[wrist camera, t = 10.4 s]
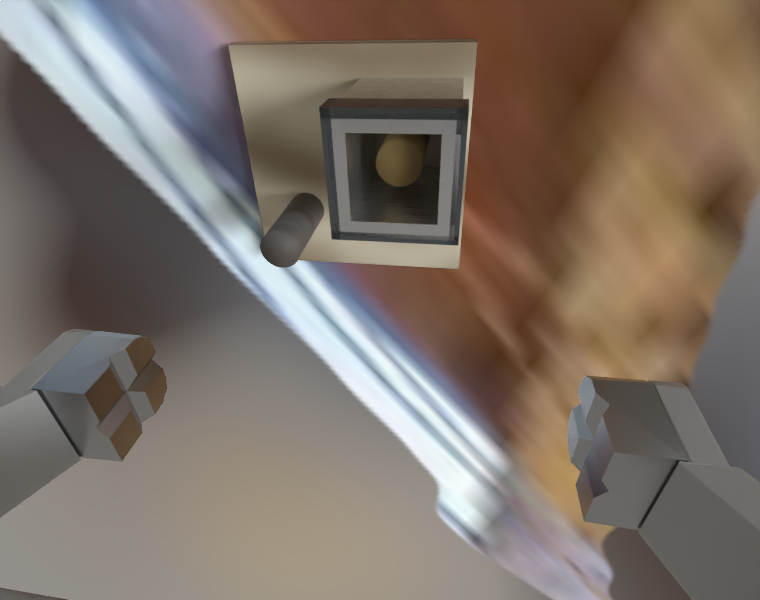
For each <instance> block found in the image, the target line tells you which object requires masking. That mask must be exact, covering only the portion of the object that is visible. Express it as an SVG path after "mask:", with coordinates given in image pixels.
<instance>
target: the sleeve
mask: <svg viewBox="0 0 760 600" xmlns="http://www.w3.org/2000/svg"><path fill="white" fill-rule="evenodd" d="M463 89H464V78H360V79H359V80H358V81H357V82H356V83H355V84H354V85H353V86H352V87H351V88H350V89H349V90H348V91H347V92H346V93H345V94H344V95H343V96H342V97H341V98H329V99H327V100H326V101H325V102H324V103H323V104H322V105H321V106H320V107H319V112H320V122H321V133H322V143H323V154H324V164H325V174H326V185H327V195H328V206H329V216H330V227H331V237H332V239H333V240H354V241H374V242H395V243H416V244H437V245H457V246H458V242H459V230H460V217H461V205H462V192H463V180H464V167H465V155H466V142H467V129H468V117H469V99H463ZM376 133H387V134H442V143H441V163H440V167H430V166H423V167H422V171H421V174H420V175H419V177H418V178H417V179H416V181H414V182H413V183H411V184H410V185H407V186H402V187H398V186H393V185H390V184H388V183H386V182H385V181H384V180H383V179H382V178H381V177H380V175H379V174H378V171H377V168H376V157H377V151H376Z"/></svg>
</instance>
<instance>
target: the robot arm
mask: <svg viewBox="0 0 760 600" xmlns="http://www.w3.org/2000/svg"><path fill="white" fill-rule="evenodd" d="M155 353H156V351H155V349H154V347H153V344H152V342H151V340H150V339H148V338H146V337H143V336H136V335H128V334H119V333H110V332H102V331H88V330H80V329H73V330H70V331H66V332H64V333H63V334H62V335H61V336H59V337H58V338H57V339H56V340H55V341H54V342H53V343H52V344H50V345H49V346H48V347H47V348H46V349H45V350H44V351H43V352H42V353H40V354H39V355H38V356H37V357H36V358H35V359H34V360H33V361H31V362H30V363H29V364H28V365H27V366H26V367H25V368H24V369H22V370H21V371H20V372H19V373H18V374H17V375H16V376H15V377H14V378H12V379H11V380H10V381H9V382H8V383H7V384H6V385H5V386H4V387H1V386H0V517H2V516H3V515H5V514H6V513H7V512H9V511H10V510H11V509H13V508H14V507H16V506H17V505H18V504H20V503H21V502H23V501H24V500H25V499H27V498H28V497H30V496H31V495H32V494H34V493H35V492H36V491H38V490H39V489H41V488H42V487H43V486H45V485H46V484H47V483H49V482H50V481H52V480H53V479H55V478H56V477H57V476H59V475H60V474H62V473H63V472H64V471H66V470H67V469H68V468H70V467H71V466H73V465H74V464H75V463H77V462H78V461H79V460H80V457H83V458H93V459H103V460H113V461H123V459H124V458H125V456H126V455H127V454H128V452H129V451H130V449H131V448H132V447H133V445H134V444H135V442H136V441H137V439H138V438H139V437H140V435H141V434H142V424H141V423H142V422H143V421H145V420H147V419H148V418H150V417H151V416H153V415H155V414H156V412H157V411H158V409H159V408H160V406H161V405H162V403H163V400H164V397H165V393H166V390H167V384H166V376H165V373H164V371H163V368H162V367H160V366H159V365H158V364H157V363H156V362H155V361H153V360H152V359H153V357H154V355H155ZM578 393H579V397H580V401H581V404H579V405H578V406H576V407H575V408H573V409H572V412H571V416H570V419H569V424H568V449H569V454H570V459H571V462H572V463H573V464H574V465H575V467H576V468H577V469H578V470H579V471H580V475H579V477H578V480H577V483H576V488H577V493H578V497H579V502H580V506H581V511H582V516H583V520H584V521H585V522H591V523H597V524H604V525H610V526H617V527H623V528H629V529H636V530H639V532H638V533H639V534H640V535H641V537H642V538H643V539H644V540H645V542H646V543H647V544H648V545H649V547H650V548H651V549H652V550H653V551H654V553H655V554H656V555H657V557H658V558H659V559H660V560H661V562H662V563H663V564H664V565H665V567H666V568H667V569H668V570H669V572H670V573H671V574H672V575H673V577H674V578H675V579H676V580H677V582H678V583H679V584H680V585H681V587H682V588H683V589H684V590H685V592H686V593H687V594H688V595H689V597H690V598H691V599H692V600H760V483H759V482H758V481H757V480H755V479H754V478H753V477H751V476H750V475H749V474H748V473H746V472H745V471H743V470H742V469H741V468H735V467H730V466H729V464H728V462H727V461H726V459H725V457H724V455H723V453H722V451H721V449H720V448H719V446H718V444H717V442H716V440H715V438H714V436H713V434H712V433H711V431H710V429H709V427H708V425H707V423H706V421H705V420H704V418H703V416H702V414H701V412H700V410H699V408H698V407H697V405H696V403H695V401H694V399H693V397H692V396H691V394H690V392H689V390H688V388H687V387H686V386H685V385H683V384H682V383H676V382H663V381H650V380H649V381H645V380H634V379H621V378H609V377H597V376H585V377H584V379H583V380H582V381H581V384H580V387H579V390H578ZM0 600H67V599H61V598H55V597H50V596H44V595H39V594H33V593H27V592H22V591H16V590H10V589H5V588H0Z"/></svg>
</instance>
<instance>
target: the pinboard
mask: <svg viewBox="0 0 760 600" xmlns="http://www.w3.org/2000/svg"><path fill="white" fill-rule="evenodd" d="M228 47H229V52H230V57H231V63H232V68H233V73H234V78H235V84H236V89H237V94H238V100H239V105H240V110H241V116H242V121H243V126H244V132H245V137H246V142H247V147H248V153H249V158H250V163H251V169H252V174H253V179H254V185H255V190H256V195H257V201H258V206H259V211H260V216H261V222H262V227H263V232H264V237H263V239H262V240H261V244H260V248H261V252H262V254H263V256H264V257H265V259H266V260H267V261H268V262H270V263H271V264H273V265H275V266H278V267H290V266H292V265H294V264H295V263H296V262H297V260H308V261H326V262H345V263H363V264H381V265H399V266H417V267H435V268H454V269H459V258H460V246H461V234H462V222H463V209H464V197H465V185H466V173H467V161H468V149H469V137H470V125H471V113H472V101H473V89H474V77H475V65H476V53H477V39H445V40H365V41H284V42H237V43H233V44H230V45H228ZM360 78H464V89H463V99H469V117H468V129H467V142H466V155H465V167H464V180H463V192H462V205H461V217H460V230H459V242H458V246H457V245H437V244H416V243H395V242H374V241H354V240H333V239H332V237H331V227H330V216H329V206H328V195H327V185H326V174H325V164H324V154H323V143H322V133H321V122H320V112H319V107H320V106H321V105H322V104H323V103H324V102H325V101H326V100H327V99H329V98H341V97H342V96H343V95H344V94H345V93H346V92H347V91H348V90H349V89H350V88H351V87H352V86H353V85H354V84H355V83H356V82H357V81H358V80H359V79H360ZM441 143H442V134H387V133H376V151H377V157H376V168H377V171H378V174H379V175H380V177H381V178H382V179H383V180H384V181H385V182H386V183H388V184H390V185H393V186H398V187H402V186H407V185H410V184H411V183H413V182H414V181H416V179H417V178H418V177H419V175H420V174H421V171H422V167H423V166H430V167H440V163H441Z"/></svg>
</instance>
